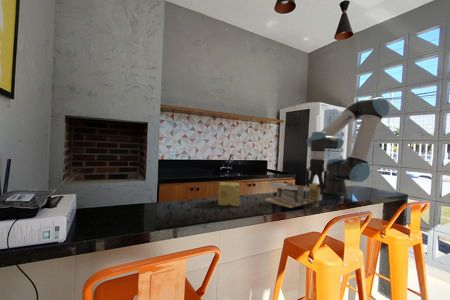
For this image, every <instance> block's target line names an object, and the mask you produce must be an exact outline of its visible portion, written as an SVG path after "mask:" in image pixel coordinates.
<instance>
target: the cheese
mask: <svg viewBox="0 0 450 300" xmlns="http://www.w3.org/2000/svg"><path fill="white" fill-rule="evenodd" d="M217 192H218V195H217V197H218V199H217V204H218V206H231V207H240V203H241V201H240V200H241V199H240V196H241V195H240V193H241V191H240V182H235V181H234V182H227V181H226V182H225V181H224V182H223V181H220V182H219V184H218V191H217Z"/></svg>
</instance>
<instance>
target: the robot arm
mask: <svg viewBox="0 0 450 300" xmlns="http://www.w3.org/2000/svg"><path fill="white" fill-rule="evenodd" d="M389 113H390V105H389V102H388V101H387V100H386V98H385V97H373V98H368V99H362V100H358V101H356V102H354V103H352V104H350V105H349V106H348V107H347V108H345V109H344V110H343V111H341V114H340V115H339V116H338V117H337V118H335V119H334V120H333V121H332V122H330V123H329V124H328V125H327V126H325V127H324V128H323V129H322V130H320V131H313V132H311V136H309V137H308V138H307V140H306V145H307V146H308V148H310V159H309V167H307V168H304V172H305V176H304V186H309V184H311V183H314V180H315V177H316V176H317V179H318V184H319V185H320V189H319V194H318V200H319V201H320V202H321V201H322V200H323V195H324V194H327V195H331V196H339V197H341V196H342V197H344V196H348V188H347V185H346V181H349V182H350V181H351V182H353V183H356V182H357V183H362V182H364V181H366V180H367V179H368V178H369V177H370V174H371V167H370V165H369V161H368V160H367V157H368V155H369V151H370V148H371V145H372V142H373V138H374V135H375V132H376V128H377V126H378V124H379V123H381V122H382V119H383V117H386V116H388V114H389ZM356 120H361V121H360V125H359V128H358V130H357V134H356V138H355V141H354V144H353V148H352V149H351V153H350V155H349V156H347V158H329V159H328V160H327V161H326V167H325V153H326V152H325V151H326V150H327V149H329V150H339V149H341V148H342V147H343V145H344V140H343V138H342V137H340V136H338V135H336V134H338V133H339V132H340V131H341V130H343V129H344V128H345V127H346V126H348V125H349V124H350V123H353V122H355V121H356ZM325 168H326V169H325ZM307 193H309V191H307ZM319 201H318V202H319Z"/></svg>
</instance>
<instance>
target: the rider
mask: <svg viewBox="0 0 450 300" xmlns="http://www.w3.org/2000/svg"><path fill="white" fill-rule="evenodd" d="M309 187H310V190H309V192H308V198H307V199H310V200H313V202H319V200H318V194H319V189H320V185H319V182H318V183H316V182H313V183H311V184H309Z"/></svg>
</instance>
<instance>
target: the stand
mask: <svg viewBox="0 0 450 300" xmlns="http://www.w3.org/2000/svg"><path fill="white" fill-rule="evenodd" d="M303 192H304V187H299V189H298V191H294V190H287V189H282V188H277V187H276V196H274V197H268V198H265V199H264V202H266V203H272V204H275V205H278V206H282V207H285V208H290V209H291V208H292V209H293V208H297V207H300V206H304V205H307V204H311V203H314V200H310V199H308V198H304V196H303ZM304 193H305V192H304Z"/></svg>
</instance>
